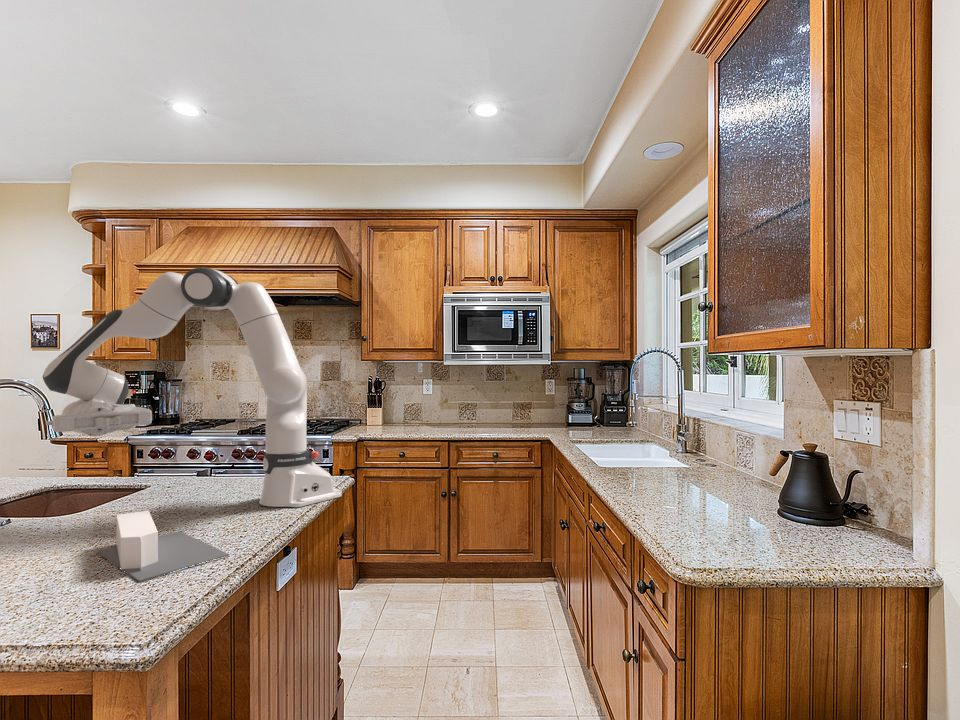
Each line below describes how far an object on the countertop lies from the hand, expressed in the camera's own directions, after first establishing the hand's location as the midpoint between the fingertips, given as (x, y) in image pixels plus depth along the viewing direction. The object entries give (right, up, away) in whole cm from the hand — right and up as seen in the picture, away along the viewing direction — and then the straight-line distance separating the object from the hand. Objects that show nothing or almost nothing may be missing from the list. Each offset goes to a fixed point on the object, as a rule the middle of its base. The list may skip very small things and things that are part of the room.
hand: (114, 421), depth 124 cm
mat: (+23, -25, -18) cm, 39 cm away
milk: (+11, -22, -10) cm, 26 cm away
